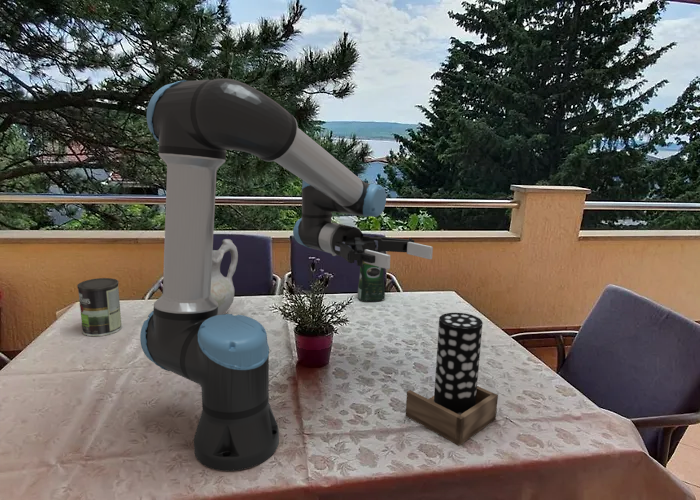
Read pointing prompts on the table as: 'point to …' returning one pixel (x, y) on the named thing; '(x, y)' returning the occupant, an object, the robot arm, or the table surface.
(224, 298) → the ceramic pitcher
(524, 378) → the table surface
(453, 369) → the white-spotted black cylinder
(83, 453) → the table surface
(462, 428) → the tray
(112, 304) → the coffee can
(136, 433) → the table surface
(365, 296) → the coffee jar
